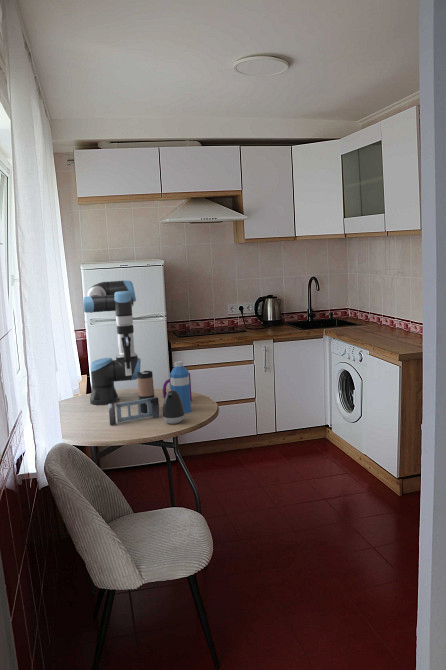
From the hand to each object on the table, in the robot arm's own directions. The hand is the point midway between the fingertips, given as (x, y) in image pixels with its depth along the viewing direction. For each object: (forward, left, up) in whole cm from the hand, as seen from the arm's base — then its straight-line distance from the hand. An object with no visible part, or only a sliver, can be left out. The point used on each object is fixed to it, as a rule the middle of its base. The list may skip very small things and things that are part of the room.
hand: (128, 375), depth 263 cm
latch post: (-1, +11, -22) cm, 25 cm away
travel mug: (-13, +12, -23) cm, 29 cm away
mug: (-20, +31, -23) cm, 43 cm away
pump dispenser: (+13, +16, -23) cm, 31 cm away
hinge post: (-1, -9, -22) cm, 24 cm away
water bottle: (-2, +26, -23) cm, 35 cm away
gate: (-1, +2, -22) cm, 22 cm away
